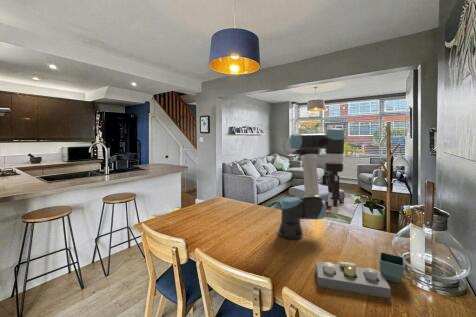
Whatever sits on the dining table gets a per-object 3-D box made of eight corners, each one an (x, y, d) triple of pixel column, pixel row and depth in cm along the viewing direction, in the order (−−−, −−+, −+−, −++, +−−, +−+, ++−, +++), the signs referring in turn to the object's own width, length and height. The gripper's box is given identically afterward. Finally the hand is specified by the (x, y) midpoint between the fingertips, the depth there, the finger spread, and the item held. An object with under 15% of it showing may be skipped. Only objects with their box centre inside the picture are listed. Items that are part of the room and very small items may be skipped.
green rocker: (340, 267, 95) (340, 263, 95) (339, 265, 98) (339, 261, 98) (355, 270, 93) (355, 265, 94) (354, 267, 96) (354, 263, 96)
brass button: (344, 281, 90) (345, 270, 90) (342, 275, 94) (343, 264, 94) (356, 283, 89) (357, 271, 88) (354, 276, 93) (354, 265, 93)
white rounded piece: (324, 278, 92) (324, 267, 92) (323, 272, 97) (323, 261, 96) (335, 280, 91) (335, 268, 91) (333, 273, 95) (334, 263, 95)
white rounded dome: (366, 285, 88) (366, 273, 88) (363, 278, 92) (363, 267, 92) (378, 286, 87) (379, 275, 86) (375, 280, 91) (375, 268, 91)
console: (318, 286, 90) (318, 277, 89) (315, 269, 101) (316, 261, 101) (390, 298, 82) (390, 288, 82) (379, 278, 94) (379, 270, 94)
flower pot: (378, 269, 101) (379, 251, 100) (402, 276, 96) (403, 257, 95) (378, 279, 93) (379, 260, 93) (403, 287, 88) (405, 267, 88)
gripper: (348, 166, 87) (346, 218, 89) (338, 160, 110) (337, 202, 112) (328, 165, 89) (327, 217, 91) (322, 160, 112) (321, 201, 114)
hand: (332, 209), depth 101 cm, fingers open, 11 cm apart
